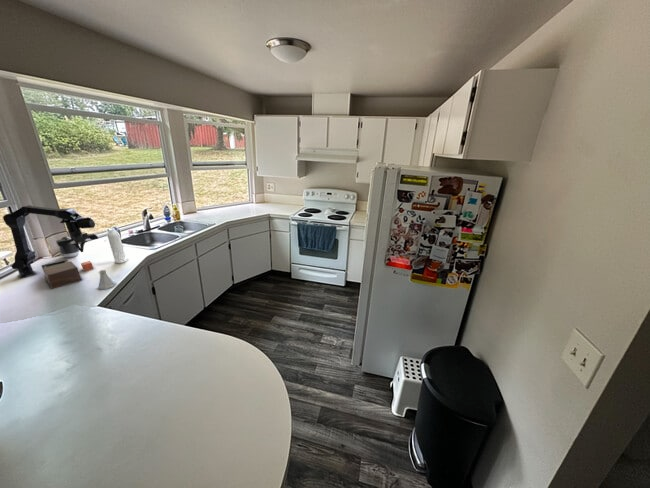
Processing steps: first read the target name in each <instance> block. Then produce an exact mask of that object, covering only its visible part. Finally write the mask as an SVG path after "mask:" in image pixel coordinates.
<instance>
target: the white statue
mask: <svg viewBox="0 0 650 488" xmlns="http://www.w3.org/2000/svg"><path fill="white" fill-rule="evenodd" d="M107 231H108V233H107V235H106V236H107V239H108V243H109V247H110V250H111V253H112V256H113V259H114V260H113V261H114V263H115V264H121V263H125V262H127V257H126V252H125V250H124V245H123V244H122V243H123V242H122V238H121V235H120V233H119V231H117V230H116V229H115V228H114V227H109V229H108V230H107Z"/></svg>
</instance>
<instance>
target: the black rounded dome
mask: <svg viewBox="0 0 650 488" xmlns="http://www.w3.org/2000/svg"><path fill="white" fill-rule="evenodd" d="M61 239H65V240H70V239H71V238H70V236H62V237H61V238H60V240H61ZM58 248H59V249H58V250H59V253H60V255H61V256H62V257H64V258H74V257H77V256H78V255H79V254H80V250H79V249H78V248H77V247H76V246H75V245H71V244H70V243H67V245H65V246H58Z"/></svg>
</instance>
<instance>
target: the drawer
mask: <svg viewBox="0 0 650 488" xmlns="http://www.w3.org/2000/svg"><path fill="white" fill-rule="evenodd" d="M66 262H69V261H68V259H63V260H59V261H58V260H57V261H54V262H49V263H46V264H42V265H41V269H42V268H44V267H49V266H53V265H57V264H61V263H66Z"/></svg>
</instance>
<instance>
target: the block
mask: <svg viewBox="0 0 650 488" xmlns="http://www.w3.org/2000/svg"><path fill="white" fill-rule="evenodd" d="M80 265H81V268H82V270H83V272H87V271H91V270H94V265H93V262H91V260H87V261H84V262H81V263H80Z"/></svg>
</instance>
